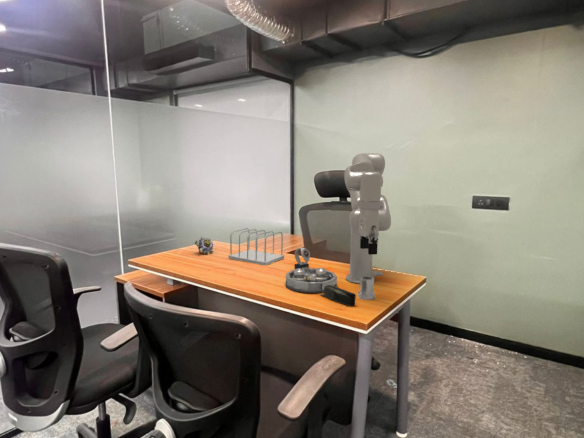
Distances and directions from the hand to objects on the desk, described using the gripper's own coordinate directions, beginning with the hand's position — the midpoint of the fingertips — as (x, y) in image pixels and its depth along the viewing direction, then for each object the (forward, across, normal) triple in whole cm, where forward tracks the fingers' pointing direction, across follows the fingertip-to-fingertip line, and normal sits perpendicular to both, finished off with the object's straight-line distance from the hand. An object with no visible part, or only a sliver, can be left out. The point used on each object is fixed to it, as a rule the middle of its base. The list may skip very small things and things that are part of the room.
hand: (368, 251), depth 130 cm
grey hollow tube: (+18, 0, 0) cm, 18 cm away
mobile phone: (+18, +2, -12) cm, 22 cm away
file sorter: (+18, -63, -42) cm, 77 cm away
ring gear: (+17, -16, -19) cm, 30 cm away
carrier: (+18, -16, -19) cm, 31 cm away
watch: (+18, -38, -20) cm, 47 cm away
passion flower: (+18, -78, -72) cm, 108 cm away
